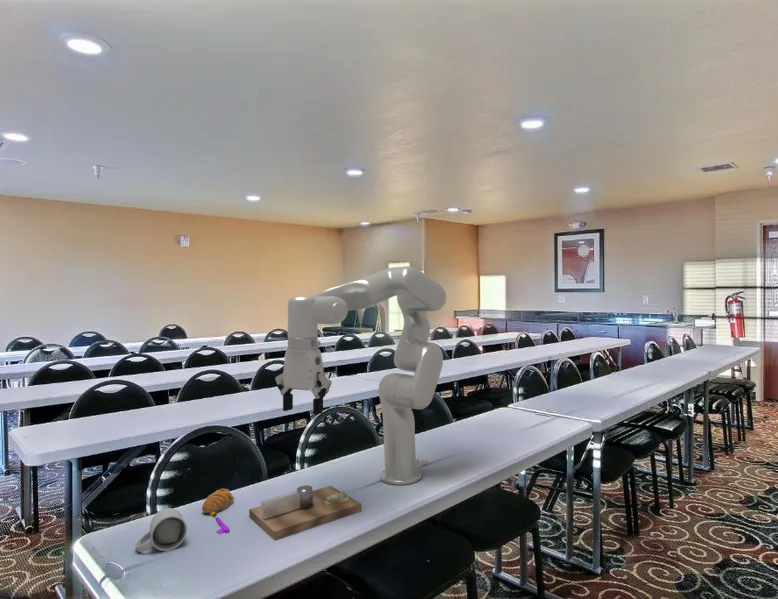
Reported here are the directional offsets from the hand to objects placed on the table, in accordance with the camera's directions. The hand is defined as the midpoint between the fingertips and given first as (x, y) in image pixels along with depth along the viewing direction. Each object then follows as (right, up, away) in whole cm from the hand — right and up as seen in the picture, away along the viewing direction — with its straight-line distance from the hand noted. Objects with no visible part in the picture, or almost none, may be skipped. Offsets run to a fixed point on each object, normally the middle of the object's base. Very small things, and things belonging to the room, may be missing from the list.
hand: (302, 411), depth 132 cm
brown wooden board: (0, -27, +2) cm, 27 cm away
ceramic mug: (-31, -29, -12) cm, 44 cm away
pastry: (-24, -28, +8) cm, 38 cm away
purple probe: (-22, -28, -1) cm, 36 cm away
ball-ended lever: (-3, -25, -1) cm, 25 cm away
